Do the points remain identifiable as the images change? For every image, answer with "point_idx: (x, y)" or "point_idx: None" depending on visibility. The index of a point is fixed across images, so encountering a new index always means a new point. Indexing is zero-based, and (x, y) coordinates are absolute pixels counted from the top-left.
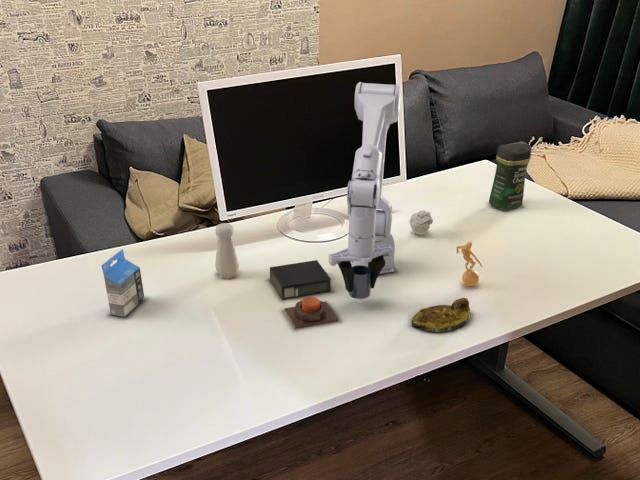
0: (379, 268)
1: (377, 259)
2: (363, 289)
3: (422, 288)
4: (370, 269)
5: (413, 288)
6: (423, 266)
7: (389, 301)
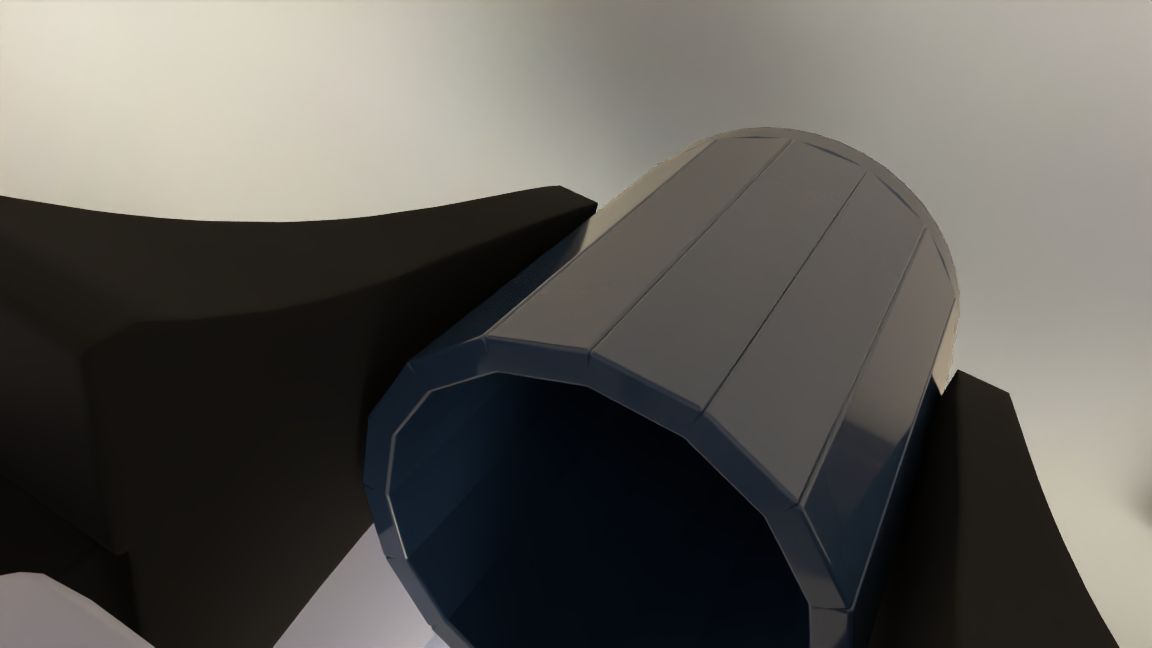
0: (182, 255)
1: (21, 487)
2: (795, 213)
3: (115, 11)
4: (380, 432)
5: (179, 69)
6: None
7: (475, 29)
